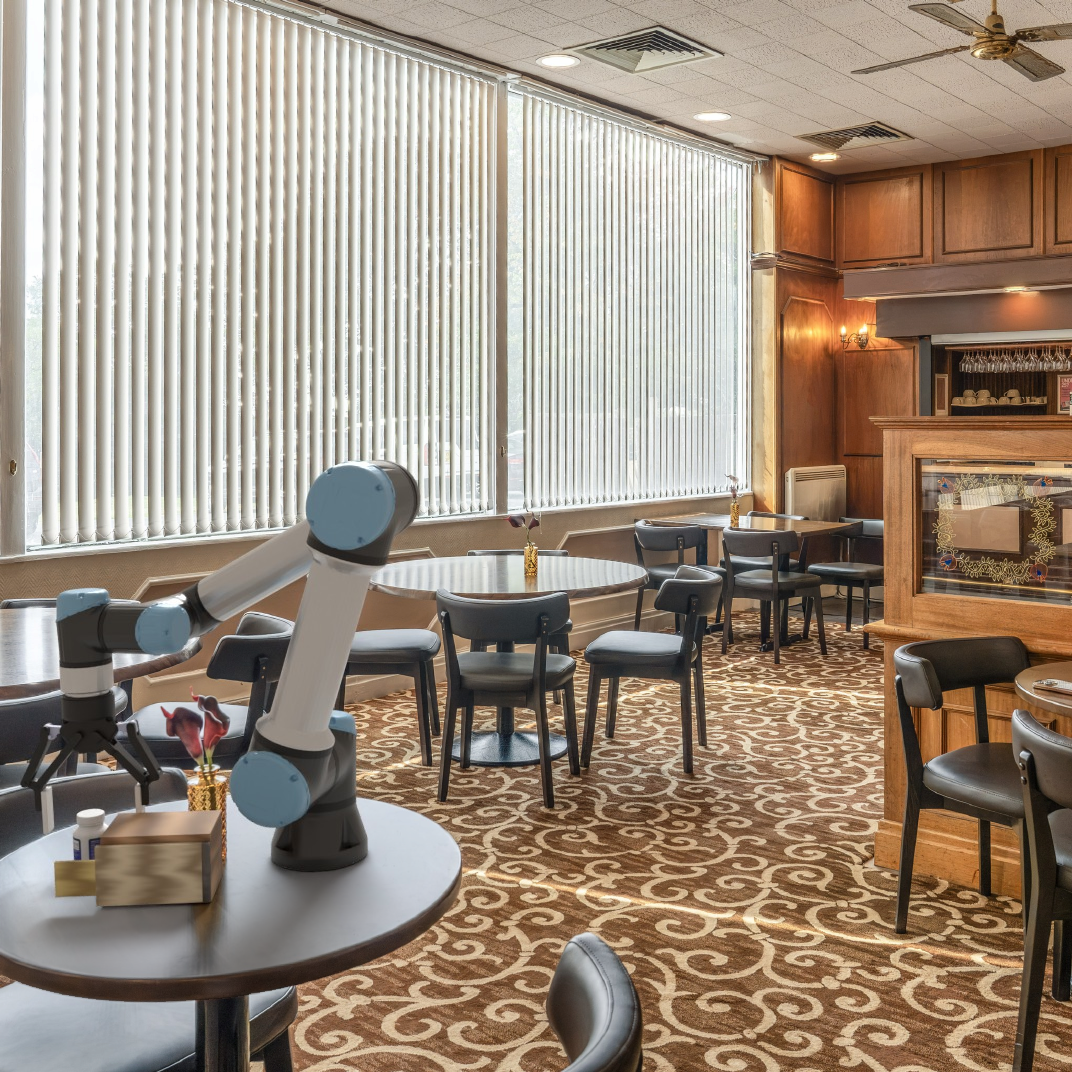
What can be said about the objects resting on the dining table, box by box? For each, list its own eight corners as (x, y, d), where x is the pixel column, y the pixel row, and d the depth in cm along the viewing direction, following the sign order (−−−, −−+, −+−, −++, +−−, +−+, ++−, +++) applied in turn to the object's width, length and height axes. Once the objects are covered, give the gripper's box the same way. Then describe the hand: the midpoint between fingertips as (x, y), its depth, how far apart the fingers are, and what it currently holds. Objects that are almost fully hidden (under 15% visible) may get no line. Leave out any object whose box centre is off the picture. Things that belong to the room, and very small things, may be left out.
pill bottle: (116, 862, 174) (114, 807, 174) (104, 876, 169) (102, 818, 168) (81, 863, 174) (79, 807, 173) (68, 876, 169) (66, 819, 168)
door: (211, 898, 160) (210, 841, 159) (210, 902, 159) (209, 844, 158) (57, 904, 157) (55, 846, 157) (54, 908, 156) (52, 849, 155)
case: (222, 874, 170) (221, 810, 169) (211, 901, 160) (209, 833, 159) (120, 878, 168) (118, 813, 167) (102, 906, 158) (100, 837, 157)
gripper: (177, 682, 174) (184, 815, 176) (9, 689, 171) (18, 824, 173) (167, 693, 167) (174, 831, 169) (-9, 700, 164) (0, 842, 166)
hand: (95, 828), depth 171 cm, fingers open, 13 cm apart
